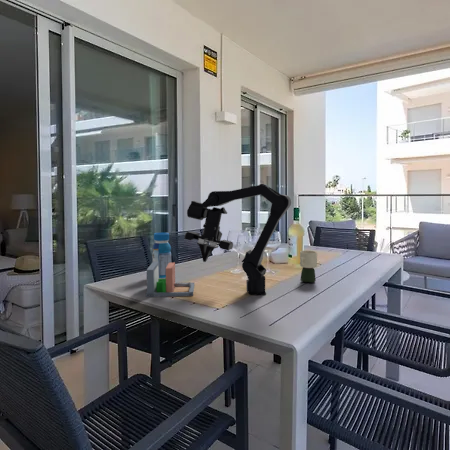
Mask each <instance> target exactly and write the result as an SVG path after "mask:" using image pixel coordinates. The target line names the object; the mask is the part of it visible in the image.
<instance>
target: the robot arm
mask: <svg viewBox="0 0 450 450" xmlns="http://www.w3.org/2000/svg"><path fill="white" fill-rule="evenodd" d="M257 196H262V197H263V198H265V199H266V201H268V202H269V203H271V206H270V211H269V216H268V218H267V220H266V222H265V224H264V227H263V228H262V230H261V233H260V234H259V237H258V239H257V241H256V243H255V245H254V248H253V249H249V250H248V251H246V252H245V254H244V257H243V260H241V263H242V264H241V268H242V270H243V271H244V273H245V274H246V277H247V279H245V280H246V283H245V284H246V285H245V286H246V289H245V290H246V292H247V293H248V295H252V296H253V295H267V292H266V276H265V274H266V272H267V268H265V266H264V265H262V262H263V258H264V252H265V250H266V248H267V246H268V244H269V242H270V240H271V238H272V236H273V234H274V232H275V230H276V228H277V226H278V223H280V220H281V219H282V217H284V215H285V214H286V212H288V210H289V208H291V206H292V199H291V198H290V197H289V196H288V194H287V195H286V194H281V193H280V192H278V191H277V190H275V189H273V188H272V187H270V186H269V185H268V184H266V183H261V184H258V185H252V186H248V187H244V188H238V189H233V190H219V191H218V190H215V191H211V192H209V194H208V196H207V198H206V199H205V200H204V201H203V202H198V201H195V200H191V203H190V204H189V206H188V208H187V211H186V214H187V217H188V218H190V219H194V220H198V221H203V220H205V221H204V224H203V226H202V227H203V231H202V234H201V235H200V233H199V232H195V231H186V233H185V234H184V239H185V240H188V241H193V240H196V241H197V242H196V245H198V246H199V249H200V254H201V259H202V262H203V263H206V262H207V261H208V259H209V258H210V255H211V254H212V252H213V251H214V250H215V249H218V248H220V249H221V250H226V251H231V250H233V247H234V242H233V241H231V240H226V239H222V236H223V232H222V231H220V229H221V226H220V224H221V218H222V215H227V214H228V212H227V210H226V208H225V207H224V206H223V205H226V204H228V203H231V202H233V201H236V200H237V201H238V200H242V199H246V198H252V197H257ZM221 206H222V207H221ZM210 207H212V208H210ZM219 207H221V208H219Z"/></svg>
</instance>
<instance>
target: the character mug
mask: <svg viewBox="0 0 450 450" xmlns="http://www.w3.org/2000/svg"><path fill="white" fill-rule="evenodd" d="M299 252H300V253H299V259H300V260H299V265H300V267H301V268H302V269H301V274H300V281H301V282H305V283H306V282H307V283H315V282H316V281H317V280H316V271H315V270H316V269H315V268H317V266H318V252H317V251H315V250H300V251H299Z"/></svg>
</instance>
